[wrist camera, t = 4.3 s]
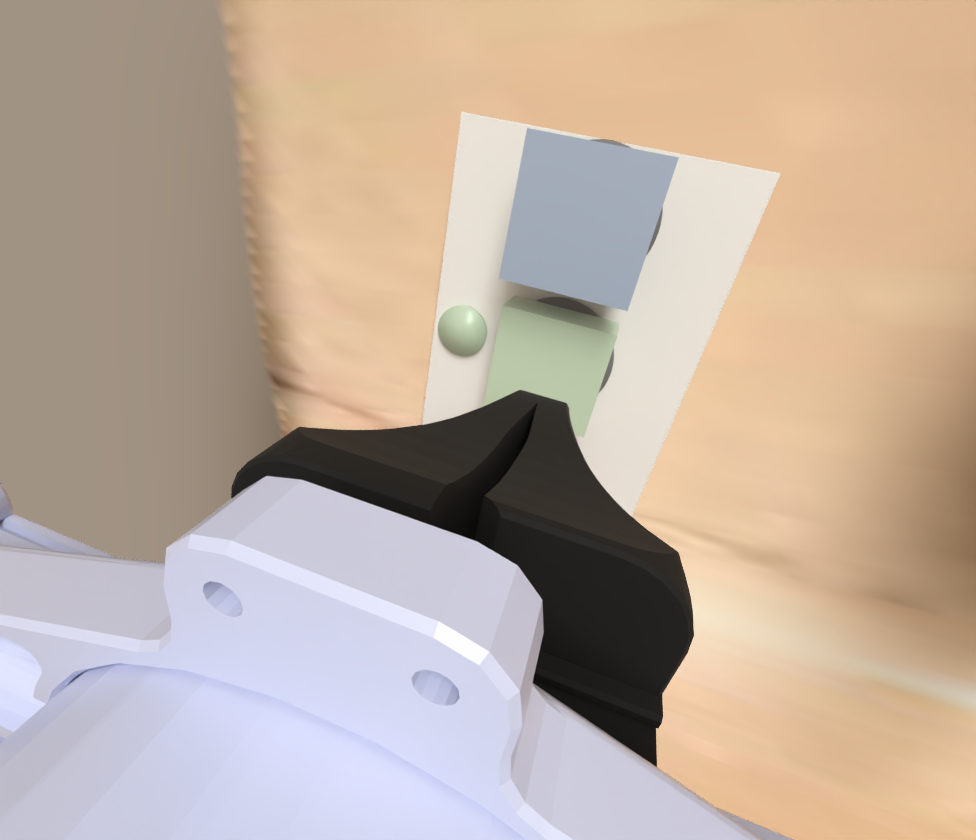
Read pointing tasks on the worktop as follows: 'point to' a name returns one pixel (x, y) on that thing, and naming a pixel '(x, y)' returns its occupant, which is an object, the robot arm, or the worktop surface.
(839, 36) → the worktop surface
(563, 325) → the sage button
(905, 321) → the worktop surface
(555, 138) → the slate button
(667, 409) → the console
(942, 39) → the worktop surface
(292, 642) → the robot arm
